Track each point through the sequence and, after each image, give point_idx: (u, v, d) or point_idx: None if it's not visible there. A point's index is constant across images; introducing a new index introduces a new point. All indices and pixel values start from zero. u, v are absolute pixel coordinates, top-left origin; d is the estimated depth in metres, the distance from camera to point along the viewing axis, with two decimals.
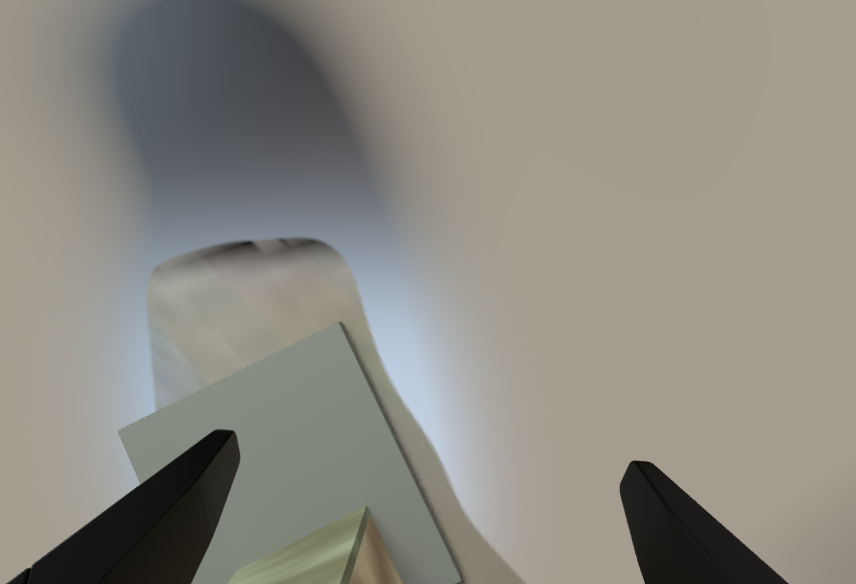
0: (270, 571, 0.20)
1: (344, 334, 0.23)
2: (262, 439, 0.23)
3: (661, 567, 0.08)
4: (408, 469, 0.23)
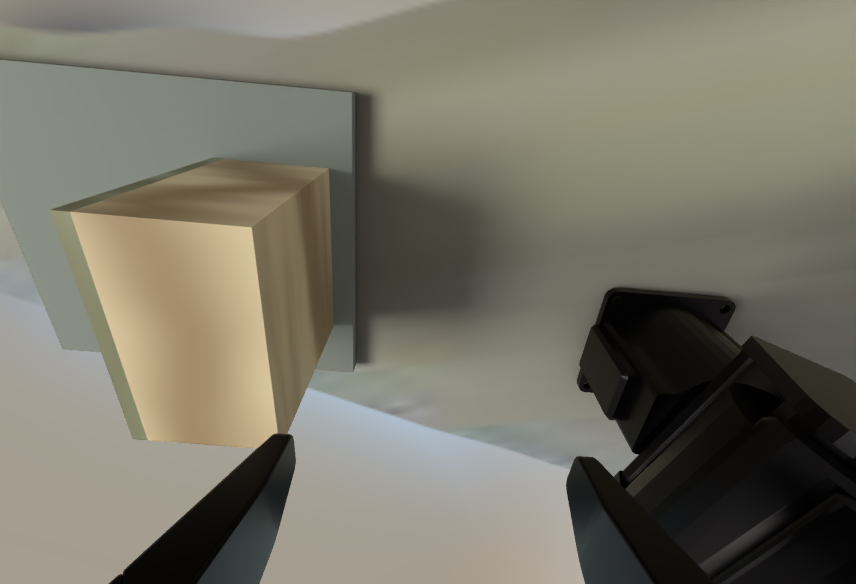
0: None
1: None
2: None
3: (596, 562, 0.08)
4: (182, 77, 0.16)
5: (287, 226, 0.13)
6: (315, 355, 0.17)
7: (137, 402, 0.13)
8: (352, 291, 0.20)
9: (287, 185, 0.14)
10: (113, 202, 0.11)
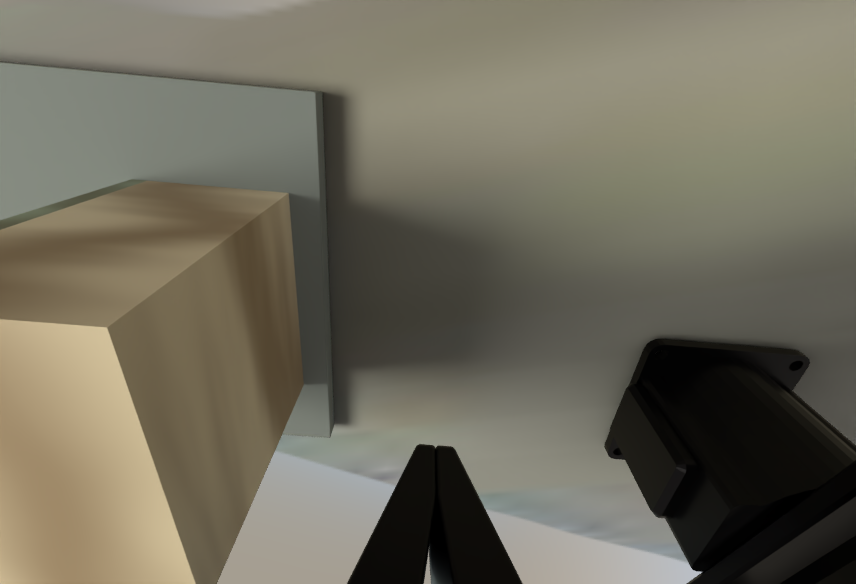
0: None
1: None
2: None
3: (433, 551, 0.08)
4: (80, 71, 0.11)
5: (206, 293, 0.08)
6: (272, 439, 0.13)
7: None
8: (325, 344, 0.16)
9: (216, 226, 0.10)
10: None
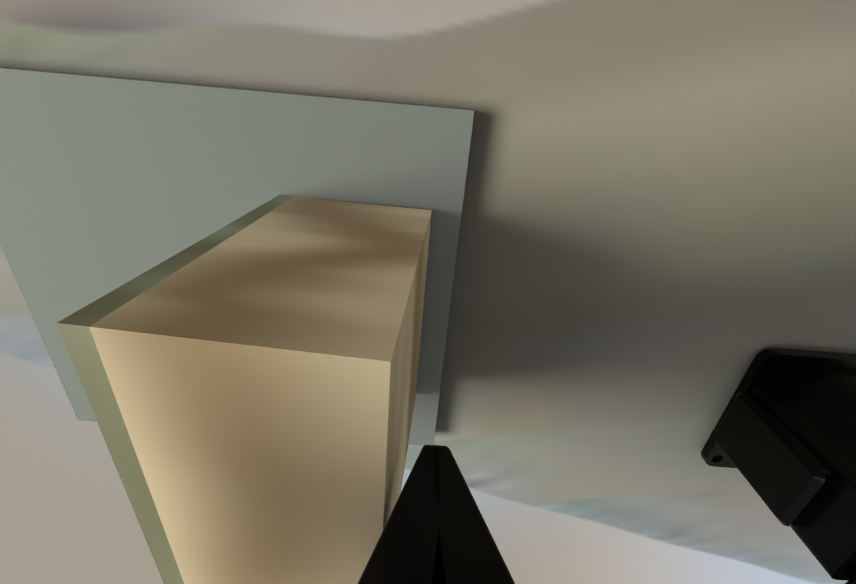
0: None
1: None
2: None
3: None
4: (247, 91, 0.12)
5: (409, 319, 0.08)
6: (405, 456, 0.13)
7: (181, 567, 0.09)
8: (443, 354, 0.16)
9: (396, 247, 0.10)
10: (159, 296, 0.07)
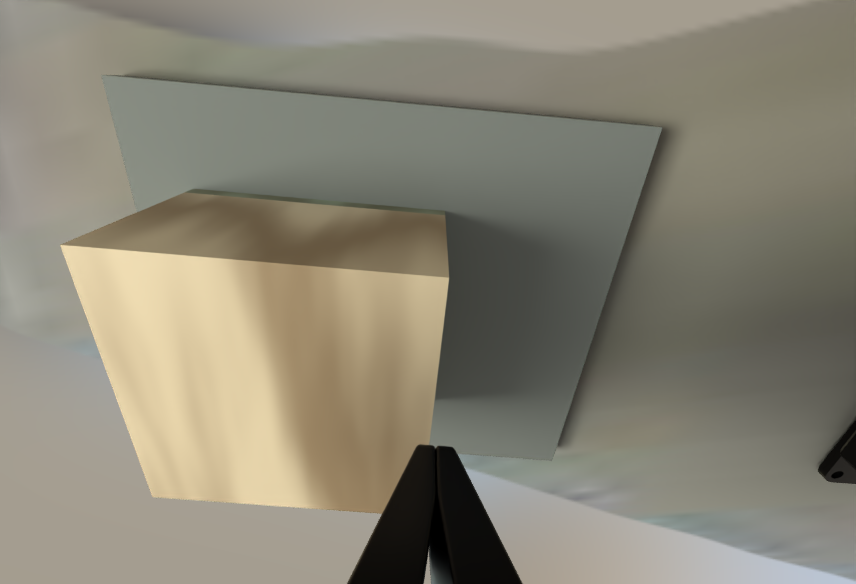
0: None
1: (132, 78, 0.11)
2: None
3: (433, 551, 0.08)
4: (431, 106, 0.11)
5: (191, 290, 0.09)
6: (305, 495, 0.12)
7: None
8: (580, 370, 0.16)
9: (288, 252, 0.09)
10: (213, 198, 0.12)
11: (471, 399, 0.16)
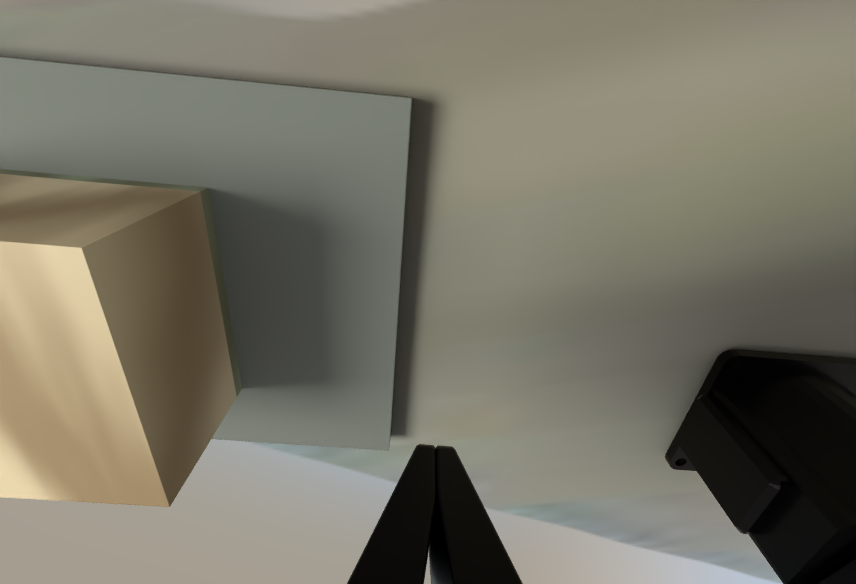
0: None
1: None
2: None
3: (433, 551, 0.08)
4: (165, 74, 0.11)
5: None
6: (39, 485, 0.11)
7: None
8: (394, 357, 0.15)
9: None
10: None
11: (289, 388, 0.16)
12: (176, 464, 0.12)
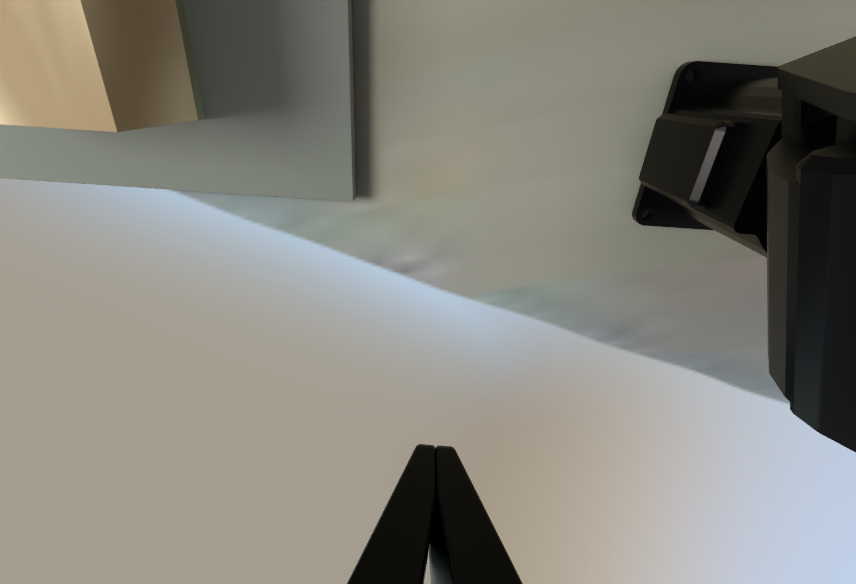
0: None
1: None
2: None
3: (433, 551, 0.08)
4: None
5: None
6: None
7: None
8: (349, 71, 0.15)
9: None
10: None
11: (250, 117, 0.16)
12: (124, 96, 0.12)
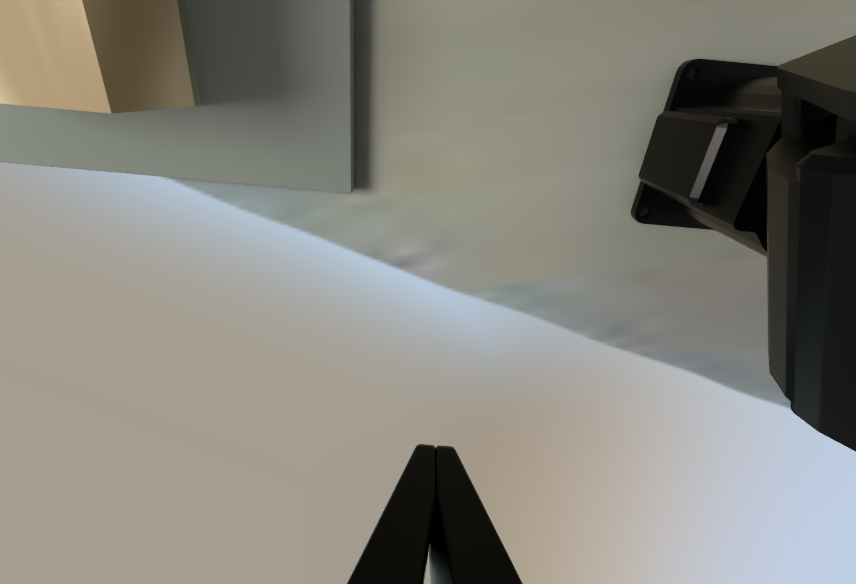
0: None
1: None
2: None
3: (433, 551, 0.08)
4: None
5: None
6: None
7: None
8: (349, 60, 0.15)
9: None
10: None
11: (248, 104, 0.16)
12: (119, 77, 0.12)
